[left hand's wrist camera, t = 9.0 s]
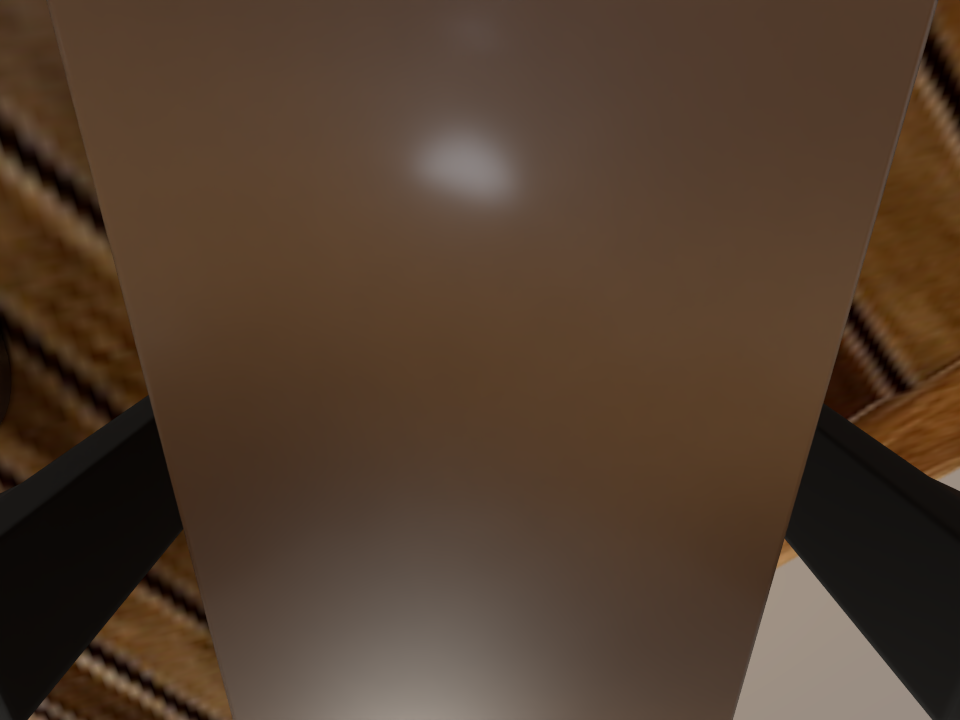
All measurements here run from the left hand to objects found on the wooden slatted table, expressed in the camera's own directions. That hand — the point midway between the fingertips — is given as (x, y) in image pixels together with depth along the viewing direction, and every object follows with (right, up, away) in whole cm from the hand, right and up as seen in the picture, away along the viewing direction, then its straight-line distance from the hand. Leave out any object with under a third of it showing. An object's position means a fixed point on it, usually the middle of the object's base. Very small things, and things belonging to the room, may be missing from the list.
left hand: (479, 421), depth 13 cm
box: (0, +9, +3) cm, 10 cm away
